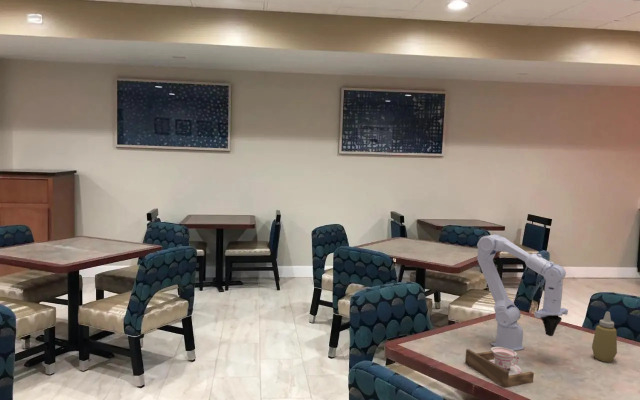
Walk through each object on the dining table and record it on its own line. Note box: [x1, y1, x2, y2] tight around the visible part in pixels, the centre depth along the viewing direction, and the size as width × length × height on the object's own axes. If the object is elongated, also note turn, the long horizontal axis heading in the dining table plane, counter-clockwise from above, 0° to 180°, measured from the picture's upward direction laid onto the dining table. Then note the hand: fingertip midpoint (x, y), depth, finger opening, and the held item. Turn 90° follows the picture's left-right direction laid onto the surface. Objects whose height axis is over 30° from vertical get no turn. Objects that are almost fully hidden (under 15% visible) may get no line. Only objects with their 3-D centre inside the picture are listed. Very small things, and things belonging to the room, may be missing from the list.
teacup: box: [489, 346, 522, 376], centre depth 161 cm, size 12×12×6 cm
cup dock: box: [464, 348, 535, 388], centre depth 158 cm, size 12×18×5 cm, turn 23°
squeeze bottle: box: [591, 311, 618, 363], centre depth 172 cm, size 8×8×18 cm
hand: (549, 335), depth 169 cm, fingers closed
